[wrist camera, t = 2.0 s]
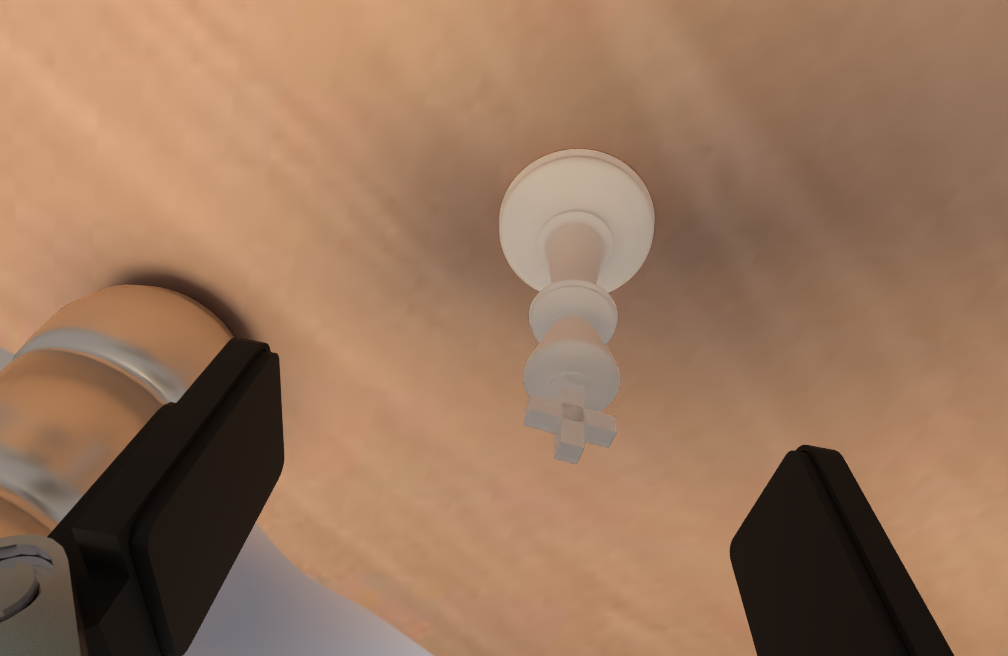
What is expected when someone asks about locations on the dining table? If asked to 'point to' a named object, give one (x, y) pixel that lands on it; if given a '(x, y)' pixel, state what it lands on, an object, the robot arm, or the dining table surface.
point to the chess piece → (574, 284)
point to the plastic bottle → (92, 393)
